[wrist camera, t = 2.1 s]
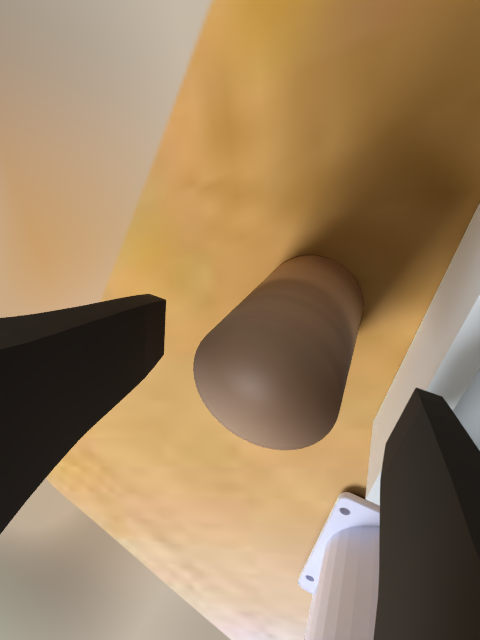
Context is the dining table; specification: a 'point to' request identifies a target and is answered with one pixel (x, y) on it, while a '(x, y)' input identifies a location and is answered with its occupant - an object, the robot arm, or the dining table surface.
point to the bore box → (440, 355)
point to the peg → (283, 355)
